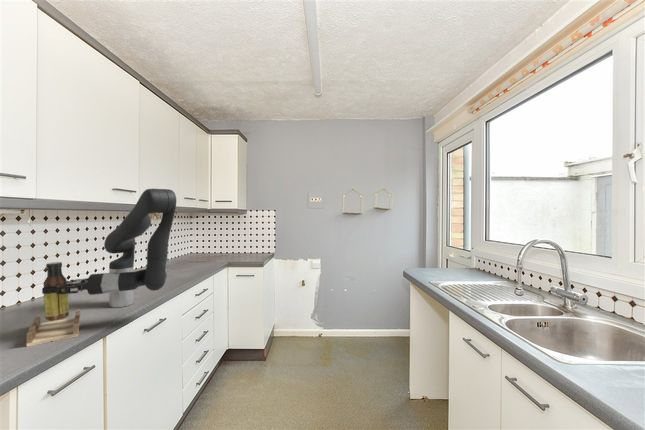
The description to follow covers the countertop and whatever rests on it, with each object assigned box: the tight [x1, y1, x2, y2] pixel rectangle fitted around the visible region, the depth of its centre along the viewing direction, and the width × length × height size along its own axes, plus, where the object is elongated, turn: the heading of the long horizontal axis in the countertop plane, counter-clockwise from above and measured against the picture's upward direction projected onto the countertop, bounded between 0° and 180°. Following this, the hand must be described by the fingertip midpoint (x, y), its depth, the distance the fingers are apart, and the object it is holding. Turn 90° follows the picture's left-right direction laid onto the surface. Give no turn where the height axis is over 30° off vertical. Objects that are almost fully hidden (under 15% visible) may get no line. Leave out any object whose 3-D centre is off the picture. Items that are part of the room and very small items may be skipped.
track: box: [26, 308, 81, 347], centre depth 102 cm, size 20×12×4 cm, turn 39°
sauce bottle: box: [43, 261, 70, 322], centre depth 101 cm, size 7×6×20 cm
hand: (47, 288), depth 100 cm, fingers closed on sauce bottle, 6 cm apart
